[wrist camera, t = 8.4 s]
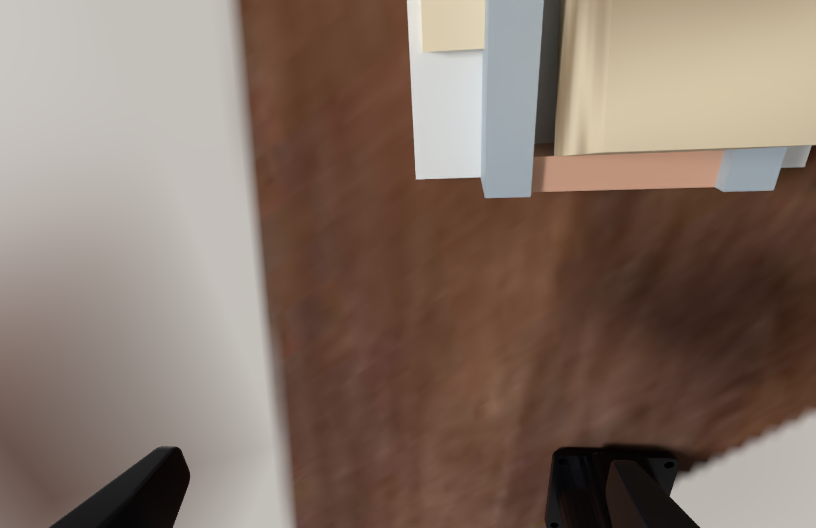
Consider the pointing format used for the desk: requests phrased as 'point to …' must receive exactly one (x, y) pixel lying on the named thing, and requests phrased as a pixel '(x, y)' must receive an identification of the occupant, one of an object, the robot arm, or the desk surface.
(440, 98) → the jig
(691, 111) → the stepped cream block
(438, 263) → the desk surface
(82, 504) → the robot arm
